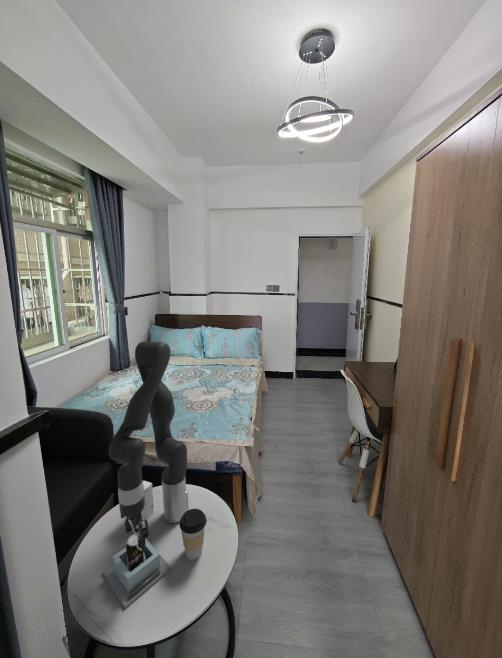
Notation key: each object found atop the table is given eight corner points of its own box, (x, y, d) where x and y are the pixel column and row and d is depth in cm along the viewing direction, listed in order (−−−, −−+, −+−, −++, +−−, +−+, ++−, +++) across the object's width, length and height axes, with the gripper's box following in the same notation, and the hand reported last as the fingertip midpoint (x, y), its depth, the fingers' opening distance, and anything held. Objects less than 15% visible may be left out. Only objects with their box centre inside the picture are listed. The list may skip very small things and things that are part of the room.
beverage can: (127, 580, 95) (124, 549, 92) (128, 564, 100) (126, 534, 98) (146, 574, 96) (143, 544, 94) (146, 559, 102) (144, 529, 100)
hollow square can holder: (146, 541, 109) (145, 526, 108) (171, 569, 99) (170, 553, 98) (102, 573, 98) (101, 557, 97) (125, 609, 87) (123, 591, 86)
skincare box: (140, 529, 115) (137, 496, 112) (128, 524, 117) (126, 492, 114) (154, 514, 122) (153, 482, 120) (143, 509, 125) (141, 478, 122)
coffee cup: (175, 554, 105) (173, 518, 102) (196, 536, 112) (194, 502, 109) (192, 571, 99) (190, 533, 96) (212, 551, 106) (212, 516, 103)
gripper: (154, 500, 91) (157, 543, 94) (132, 479, 100) (135, 519, 103) (131, 514, 86) (135, 560, 89) (109, 491, 95) (114, 533, 98)
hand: (135, 538), depth 96 cm, fingers open, 8 cm apart
